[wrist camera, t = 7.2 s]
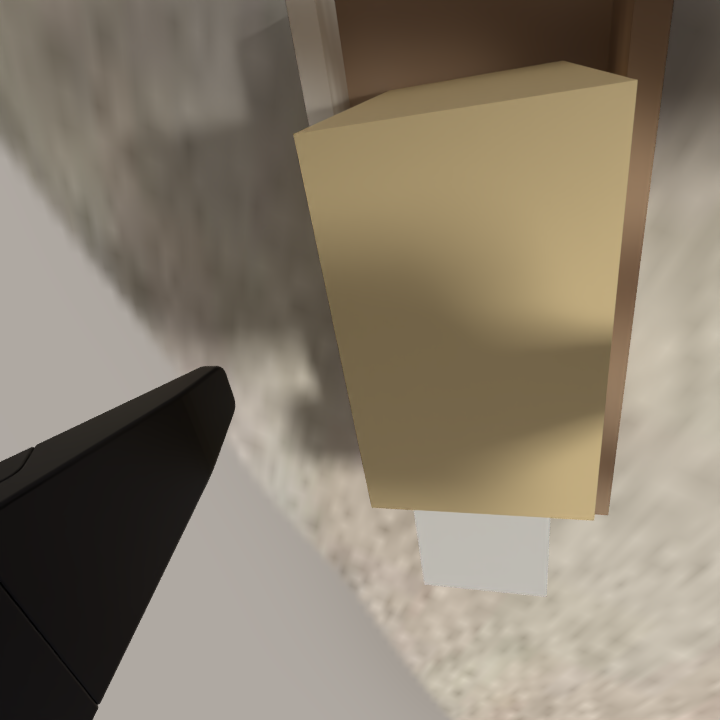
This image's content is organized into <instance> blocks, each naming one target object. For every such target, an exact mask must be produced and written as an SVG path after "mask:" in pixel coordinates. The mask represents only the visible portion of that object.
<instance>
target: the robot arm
mask: <svg viewBox="0 0 720 720" xmlns="http://www.w3.org/2000/svg"><path fill="white" fill-rule="evenodd" d="M234 411H235V399H234V396H233V393H232V390H231V387H230V384H229V381H228V378H227V375H226V373H225V371H224V369H223V368H221V367H219V366H204V367H200V368H198V369H196V370H194V371H191V372H189V373H187V374H185V375H183V376H181V377H179V378H177V379H175V380H172V381H170V382H168V383H166V384H164V385H162V386H160V387H158V388H156V389H154V390H151V391H149V392H147V393H145V394H143V395H141V396H139V397H137V398H135V399H132V400H130V401H128V402H126V403H124V404H122V405H120V406H118V407H115V408H114V409H111V410H109V411H107V412H105V413H103V414H101V415H99V416H96V417H94V418H92V419H90V420H88V421H86V422H84V423H82V424H80V425H77V426H75V427H73V428H71V429H69V430H67V431H65V432H63V433H61V434H59V435H56V436H54V437H52V438H50V439H48V440H46V441H44V442H42V443H40V444H37V445H36V446H35V448H34V447H31V448H29V449H27V450H25V451H22V452H20V453H18V454H16V455H14V456H12V457H10V458H8V459H5V460H3V461H1V462H0V720H93V718H94V716H95V713H96V711H97V710H98V704H100V703H101V701H102V698H103V697H104V694H105V692H106V690H107V688H108V686H109V684H110V682H111V680H112V678H113V676H114V674H115V672H116V670H117V668H118V666H119V664H120V661H121V660H122V657H123V655H124V653H125V651H126V649H127V647H128V645H129V643H130V641H131V639H132V637H133V635H134V633H135V631H136V628H137V627H138V624H139V623H140V620H141V618H142V616H143V614H144V612H145V610H146V608H147V606H148V604H149V602H150V600H151V598H152V596H153V593H154V592H155V590H156V587H157V585H158V583H159V581H160V579H161V577H162V575H163V573H164V571H165V569H166V567H167V565H168V563H169V561H170V559H171V557H172V555H173V553H174V550H175V549H176V546H177V544H178V542H179V540H180V538H181V536H182V534H183V532H184V530H185V528H186V526H187V524H188V522H189V520H190V518H191V516H192V514H193V511H194V509H195V507H196V505H197V503H198V501H199V499H200V497H201V495H202V493H203V491H204V489H205V487H206V485H207V483H208V480H209V478H210V476H211V474H212V471H213V469H214V466H215V464H216V461H217V458H218V456H219V453H220V450H221V447H222V444H223V442H224V439H225V436H226V433H227V431H228V428H229V425H230V422H231V420H232V417H233V414H234Z"/></svg>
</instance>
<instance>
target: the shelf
mask: <svg viewBox="0 0 720 720" xmlns="http://www.w3.org/2000/svg"><path fill="white" fill-rule="evenodd" d="M285 2H286V7H287V12H288V18H289V23H290V28H291V33H292V39H293V44H294V49H295V55H296V60H297V65H298V70H299V76H300V81H301V86H302V92H303V97H304V102H305V107H306V113H307V118H308V123H309V127H310V126H312V125H314V124H316V123H319V122H321V121H323V120H325V119H327V118H330V117H332V116H334V115H336V114H339V113H341V112H343V111H345V110H347V109H350V108H352V107H354V106H356V105H358V104H361V103H363V102H365V101H367V100H369V99H372V98H374V97H376V96H378V95H380V94H383V93H385V92H387V91H389V90H395V89H401V88H406V87H412V86H418V85H424V84H430V83H435V82H441V81H447V80H453V79H459V78H464V77H470V76H476V75H482V74H488V73H493V72H499V71H505V70H511V69H517V68H522V67H528V66H534V65H540V64H545V63H551V62H557V61H567V62H570V63H574V64H578V65H582V66H586V67H590V68H593V69H597V70H601V71H605V72H609V73H613V74H617V75H620V76H624V77H628V78H632V79H636V80H638V82H637V93H636V103H635V113H634V123H633V133H632V143H631V153H630V163H629V173H628V183H627V193H626V203H625V213H624V223H623V233H622V243H621V253H620V264H619V274H618V284H617V294H616V304H615V314H614V324H613V334H612V344H611V354H610V364H609V374H608V384H607V394H606V404H605V414H604V424H603V435H602V445H601V455H600V465H599V475H598V485H597V495H596V505H595V514H599V515H608V512H609V504H610V496H611V488H612V480H613V473H614V465H615V457H616V449H617V441H618V433H619V426H620V418H621V410H622V402H623V394H624V386H625V379H626V371H627V363H628V355H629V347H630V339H631V332H632V324H633V316H634V308H635V300H636V293H637V285H638V277H639V269H640V261H641V253H642V246H643V238H644V230H645V222H646V214H647V206H648V199H649V191H650V183H651V175H652V167H653V159H654V152H655V144H656V136H657V128H658V120H659V113H660V105H661V97H662V89H663V81H664V73H665V66H666V58H667V50H668V42H669V34H670V26H671V19H672V11H673V3H674V0H285Z"/></svg>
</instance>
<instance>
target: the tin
mask: <svg viewBox="0 0 720 720" xmlns="http://www.w3.org/2000/svg"><path fill="white" fill-rule="evenodd" d="M414 516H415V523H416V530H417V537H418V544H419V551H420V558H421V565H422V572H423V579H424V584H425V585H434V586H444V587H454V588H464V589H474V590H484V591H494V592H503V593H513V594H523V595H533V596H543V597H547V578H548V557H549V536H550V518H543V517H526V516H509V515H491V514H474V513H457V512H440V511H422V510H414Z"/></svg>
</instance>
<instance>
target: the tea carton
mask: <svg viewBox="0 0 720 720" xmlns="http://www.w3.org/2000/svg"><path fill="white" fill-rule="evenodd" d="M637 82H638V80H636V79H632V78H628V77H624V76H620V75H617V74H613V73H609V72H605V71H601V70H597V69H593V68H590V67H586V66H582V65H578V64H574V63H570V62H567V61H557V62H551V63H545V64H540V65H534V66H528V67H522V68H517V69H511V70H505V71H499V72H493V73H488V74H482V75H476V76H470V77H464V78H459V79H453V80H447V81H441V82H435V83H430V84H424V85H418V86H412V87H406V88H401V89H395V90H389V91H387V92H385V93H383V94H380V95H378V96H376V97H374V98H372V99H369V100H367V101H365V102H363V103H361V104H358V105H356V106H354V107H352V108H350V109H347V110H345V111H343V112H341V113H339V114H336V115H334V116H332V117H330V118H327V119H325V120H323V121H321V122H319V123H316V124H314V125H312V126H310V127H308V128H305V129H303V130H301V131H299V132H297V133H294V134H293V135H294V140H295V145H296V150H297V154H298V159H299V164H300V169H301V173H302V178H303V183H304V188H305V192H306V197H307V202H308V207H309V211H310V216H311V221H312V226H313V230H314V235H315V240H316V245H317V249H318V254H319V259H320V264H321V269H322V273H323V278H324V283H325V288H326V292H327V297H328V302H329V307H330V311H331V316H332V321H333V326H334V330H335V335H336V340H337V345H338V349H339V354H340V359H341V364H342V368H343V373H344V378H345V383H346V388H347V392H348V397H349V402H350V407H351V411H352V416H353V421H354V426H355V430H356V435H357V440H358V445H359V449H360V454H361V459H362V464H363V468H364V473H365V478H366V483H367V487H368V492H369V497H370V502H371V507H372V508H388V509H405V510H422V511H440V512H457V513H474V514H491V515H509V516H526V517H543V518H560V519H578V520H594V515H595V505H596V495H597V485H598V475H599V465H600V455H601V445H602V435H603V424H604V414H605V404H606V394H607V384H608V374H609V364H610V354H611V344H612V334H613V324H614V314H615V304H616V294H617V284H618V274H619V264H620V253H621V243H622V233H623V223H624V213H625V203H626V193H627V183H628V173H629V163H630V153H631V143H632V133H633V123H634V113H635V103H636V93H637Z"/></svg>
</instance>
